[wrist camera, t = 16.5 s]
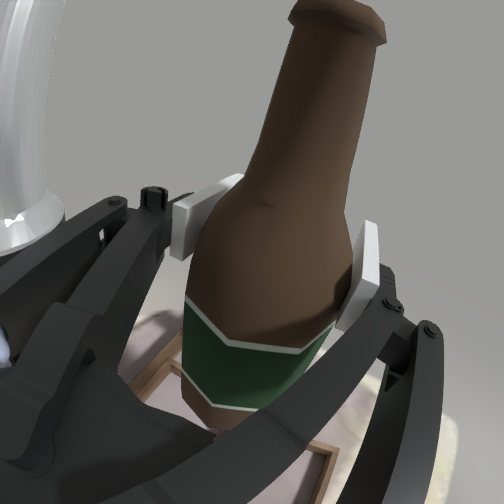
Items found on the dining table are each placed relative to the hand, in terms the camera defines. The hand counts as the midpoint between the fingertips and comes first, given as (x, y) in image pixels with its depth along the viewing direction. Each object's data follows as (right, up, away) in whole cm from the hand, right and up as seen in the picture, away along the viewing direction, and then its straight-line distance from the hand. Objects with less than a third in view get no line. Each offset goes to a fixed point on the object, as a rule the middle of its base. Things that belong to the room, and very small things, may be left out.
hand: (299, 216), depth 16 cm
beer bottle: (-5, -13, +3) cm, 14 cm away
